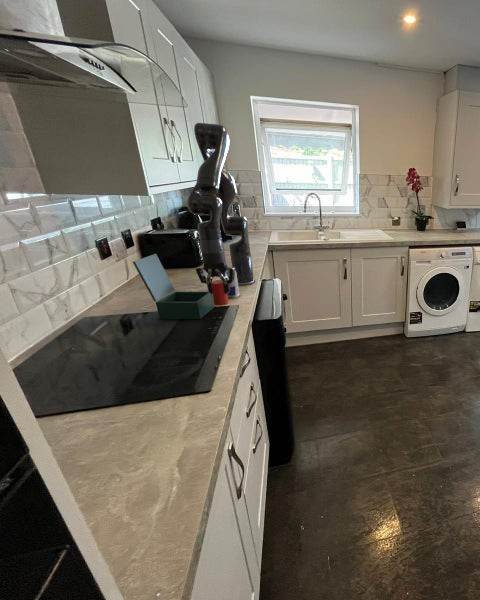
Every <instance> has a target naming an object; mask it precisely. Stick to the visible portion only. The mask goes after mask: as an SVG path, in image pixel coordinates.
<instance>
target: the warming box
mask: <svg viewBox="0 0 480 600" xmlns="http://www.w3.org/2000/svg"><path fill="white" fill-rule="evenodd" d="M155 305H156V311H157V313H158V314H157V315H158V317H159V320H202V318H204V317H205V316H206V315H207V314H209V312H211V311H212V310H213V309H214V308H215V307H216V305H214V299H213V294H210V292H209V291H184V290H183V291H179V290H178V291H176V290H174V291H173V292H171V293H169V294H167V295H166V296H164V297H162V298H161V299H159V300H157V301H155Z"/></svg>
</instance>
